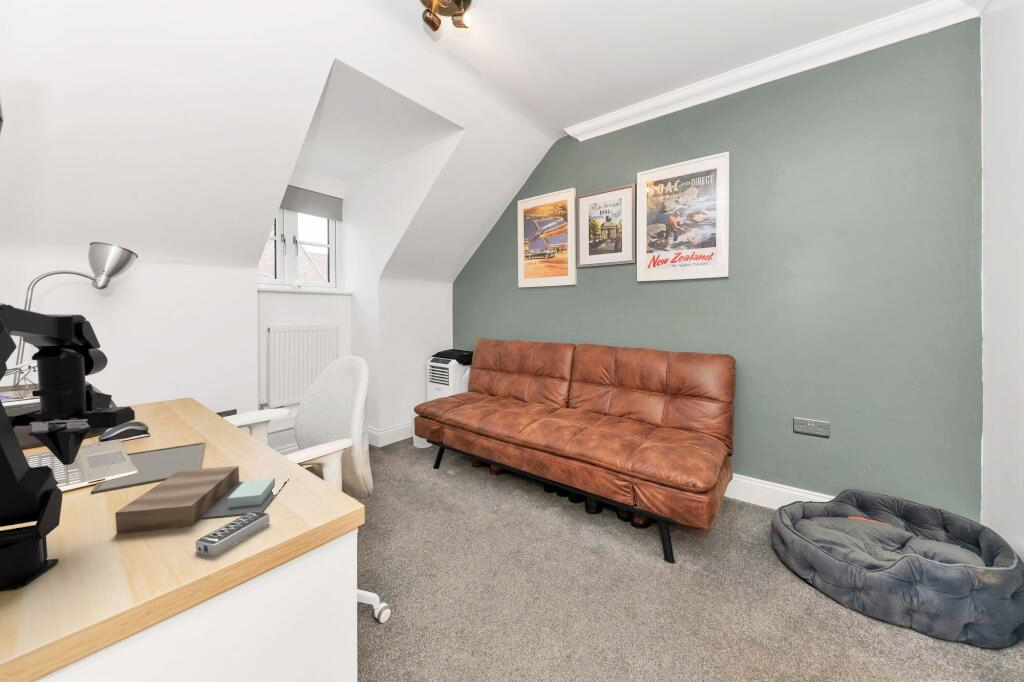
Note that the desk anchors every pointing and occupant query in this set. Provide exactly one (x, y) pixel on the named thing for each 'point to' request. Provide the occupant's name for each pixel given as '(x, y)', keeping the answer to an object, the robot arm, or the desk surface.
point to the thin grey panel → (157, 466)
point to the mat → (223, 511)
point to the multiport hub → (231, 533)
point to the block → (251, 492)
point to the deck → (177, 500)
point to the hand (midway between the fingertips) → (68, 464)
